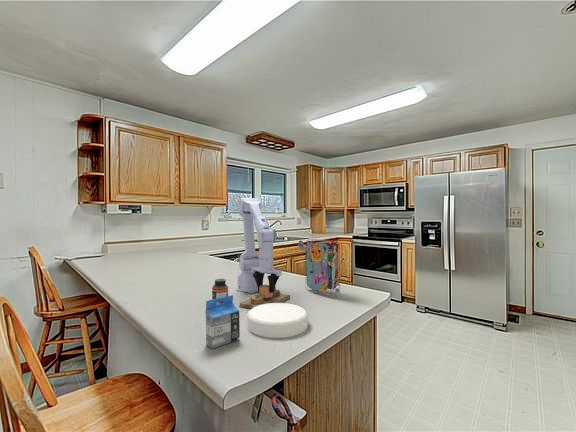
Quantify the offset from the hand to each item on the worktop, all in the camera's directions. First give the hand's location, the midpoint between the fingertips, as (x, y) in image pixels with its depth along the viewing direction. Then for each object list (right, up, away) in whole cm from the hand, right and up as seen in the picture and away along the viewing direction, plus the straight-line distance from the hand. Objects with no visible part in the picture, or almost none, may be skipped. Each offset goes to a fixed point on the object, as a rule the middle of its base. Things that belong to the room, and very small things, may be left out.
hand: (266, 291), depth 117 cm
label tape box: (-9, -5, -36) cm, 38 cm away
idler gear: (0, -2, 0) cm, 2 cm away
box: (+22, -5, +17) cm, 28 cm away
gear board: (0, -5, 0) cm, 5 cm away
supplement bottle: (-17, -5, -8) cm, 20 cm away
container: (+6, -5, -23) cm, 25 cm away
